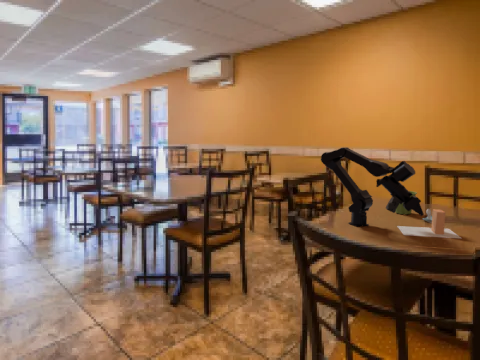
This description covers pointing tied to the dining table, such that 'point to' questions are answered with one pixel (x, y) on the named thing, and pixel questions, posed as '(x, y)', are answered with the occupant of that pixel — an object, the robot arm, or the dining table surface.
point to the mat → (426, 232)
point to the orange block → (438, 221)
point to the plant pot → (401, 209)
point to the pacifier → (429, 218)
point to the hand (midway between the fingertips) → (422, 214)
